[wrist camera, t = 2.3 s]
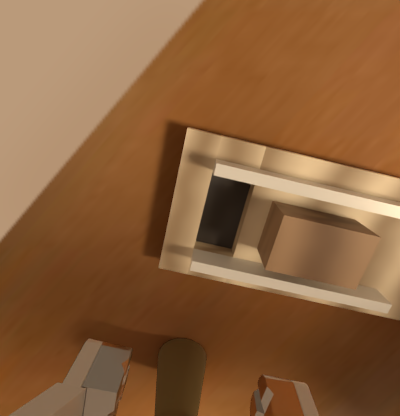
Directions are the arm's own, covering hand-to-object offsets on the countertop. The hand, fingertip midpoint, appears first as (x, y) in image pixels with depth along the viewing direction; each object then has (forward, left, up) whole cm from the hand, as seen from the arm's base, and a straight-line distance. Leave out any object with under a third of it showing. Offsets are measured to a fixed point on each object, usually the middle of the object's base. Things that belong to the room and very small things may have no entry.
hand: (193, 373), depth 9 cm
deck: (-14, 0, -19) cm, 24 cm away
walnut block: (-10, 0, -17) cm, 20 cm away
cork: (-2, +20, -19) cm, 28 cm away
